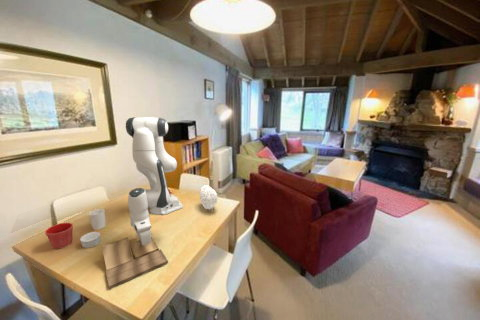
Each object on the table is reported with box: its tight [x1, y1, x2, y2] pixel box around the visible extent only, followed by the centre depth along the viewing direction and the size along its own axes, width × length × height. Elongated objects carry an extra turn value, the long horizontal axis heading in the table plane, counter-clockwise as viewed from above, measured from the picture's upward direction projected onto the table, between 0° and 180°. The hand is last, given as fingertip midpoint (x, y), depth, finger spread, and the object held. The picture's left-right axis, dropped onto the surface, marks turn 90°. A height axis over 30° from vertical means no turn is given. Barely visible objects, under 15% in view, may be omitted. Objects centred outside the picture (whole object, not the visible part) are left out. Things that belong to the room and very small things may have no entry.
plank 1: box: [101, 237, 135, 271], centre depth 99 cm, size 11×12×2 cm
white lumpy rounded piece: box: [199, 184, 218, 212], centre depth 150 cm, size 18×11×17 cm, turn 32°
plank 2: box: [129, 236, 160, 260], centre depth 108 cm, size 11×12×2 cm
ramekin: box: [79, 231, 101, 249], centre depth 111 cm, size 9×9×4 cm
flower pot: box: [44, 222, 74, 250], centre depth 109 cm, size 11×11×10 cm
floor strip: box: [105, 248, 169, 290], centre depth 96 cm, size 24×11×2 cm, turn 129°
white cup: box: [88, 208, 107, 230], centre depth 125 cm, size 8×8×10 cm
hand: (142, 243), depth 110 cm, fingers closed on plank 2, 2 cm apart
